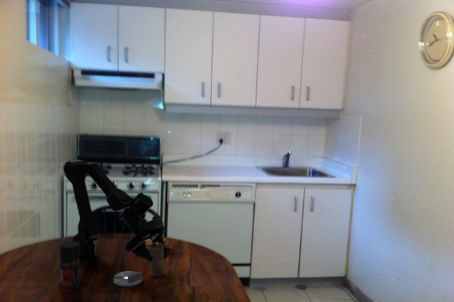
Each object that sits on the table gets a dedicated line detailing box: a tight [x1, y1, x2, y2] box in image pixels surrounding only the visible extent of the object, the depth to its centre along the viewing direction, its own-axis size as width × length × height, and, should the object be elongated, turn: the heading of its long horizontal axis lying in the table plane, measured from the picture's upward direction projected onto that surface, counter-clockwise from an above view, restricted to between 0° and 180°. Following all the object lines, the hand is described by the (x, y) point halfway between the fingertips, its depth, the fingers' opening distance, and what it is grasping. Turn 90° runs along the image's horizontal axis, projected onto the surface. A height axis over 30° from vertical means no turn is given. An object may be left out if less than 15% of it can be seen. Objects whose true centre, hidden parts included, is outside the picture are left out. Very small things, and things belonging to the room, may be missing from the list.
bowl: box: [113, 270, 144, 288], centre depth 135 cm, size 10×10×4 cm
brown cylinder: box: [149, 242, 165, 278], centre depth 141 cm, size 5×5×12 cm
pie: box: [143, 236, 170, 253], centre depth 165 cm, size 15×16×5 cm
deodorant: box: [59, 240, 80, 293], centre depth 127 cm, size 6×6×15 cm
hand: (159, 256), depth 141 cm, fingers open, 9 cm apart
